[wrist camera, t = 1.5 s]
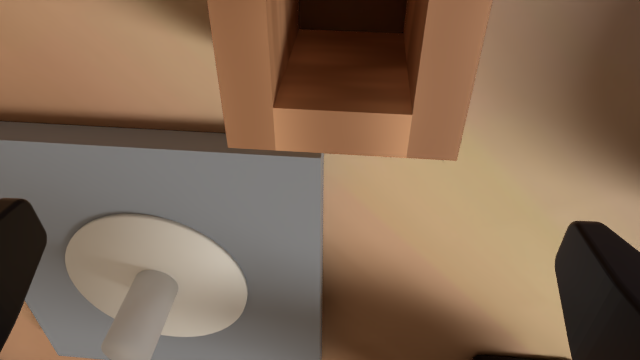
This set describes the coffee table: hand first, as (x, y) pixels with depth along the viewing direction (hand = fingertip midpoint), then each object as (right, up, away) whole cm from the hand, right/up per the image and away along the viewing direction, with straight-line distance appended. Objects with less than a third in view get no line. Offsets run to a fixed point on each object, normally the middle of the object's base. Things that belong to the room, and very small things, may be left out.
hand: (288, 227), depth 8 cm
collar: (+2, +8, +9) cm, 12 cm away
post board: (-8, -4, +20) cm, 22 cm away
